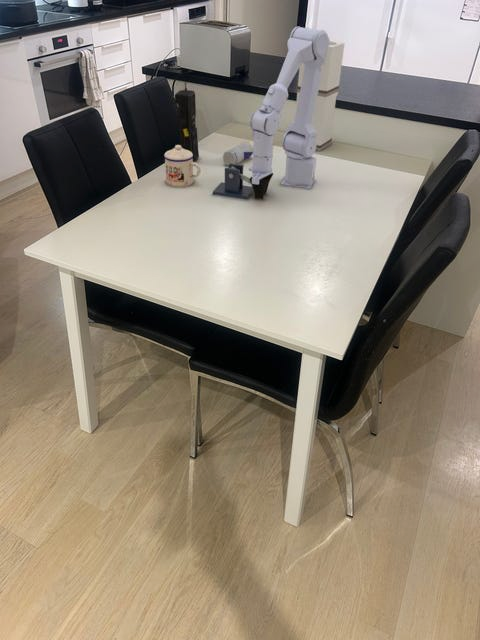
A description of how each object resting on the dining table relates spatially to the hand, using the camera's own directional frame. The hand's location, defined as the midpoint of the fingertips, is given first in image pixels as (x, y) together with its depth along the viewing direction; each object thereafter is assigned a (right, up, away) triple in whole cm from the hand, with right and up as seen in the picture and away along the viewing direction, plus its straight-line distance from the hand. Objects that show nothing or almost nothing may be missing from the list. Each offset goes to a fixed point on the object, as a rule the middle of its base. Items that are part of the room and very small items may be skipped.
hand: (260, 198), depth 156 cm
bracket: (-8, +2, +2) cm, 9 cm away
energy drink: (-10, +18, +18) cm, 27 cm away
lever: (-5, +4, -1) cm, 6 cm away
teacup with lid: (-24, +7, +7) cm, 26 cm away
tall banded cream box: (+22, +31, +41) cm, 55 cm away
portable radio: (-24, +18, +23) cm, 38 cm away
